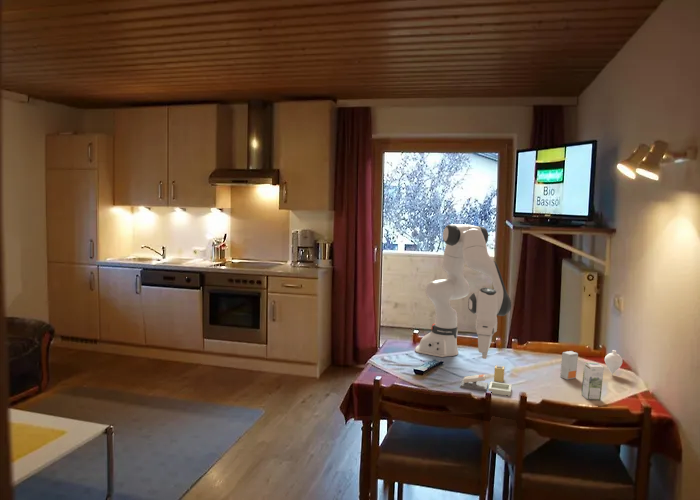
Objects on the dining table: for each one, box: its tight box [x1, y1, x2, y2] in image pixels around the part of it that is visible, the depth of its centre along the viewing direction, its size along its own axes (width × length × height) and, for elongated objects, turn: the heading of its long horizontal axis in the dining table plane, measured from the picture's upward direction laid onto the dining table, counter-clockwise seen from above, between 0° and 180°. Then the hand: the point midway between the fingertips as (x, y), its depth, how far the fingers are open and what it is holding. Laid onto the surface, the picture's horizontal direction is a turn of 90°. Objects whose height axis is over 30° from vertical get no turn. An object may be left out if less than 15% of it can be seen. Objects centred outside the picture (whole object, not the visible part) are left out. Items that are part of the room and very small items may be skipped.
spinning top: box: [604, 349, 624, 376], centre depth 260 cm, size 8×8×12 cm
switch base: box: [459, 379, 489, 392], centre depth 239 cm, size 11×8×2 cm
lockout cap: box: [493, 364, 505, 383], centre depth 248 cm, size 4×4×6 cm
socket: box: [487, 381, 513, 397], centre depth 235 cm, size 9×9×2 cm
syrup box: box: [581, 362, 605, 401], centre depth 230 cm, size 6×6×14 cm
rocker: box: [462, 373, 487, 383], centre depth 239 cm, size 9×4×2 cm, turn 70°
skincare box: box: [559, 350, 579, 380], centre depth 254 cm, size 6×4×12 cm
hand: (484, 357), depth 236 cm, fingers closed
